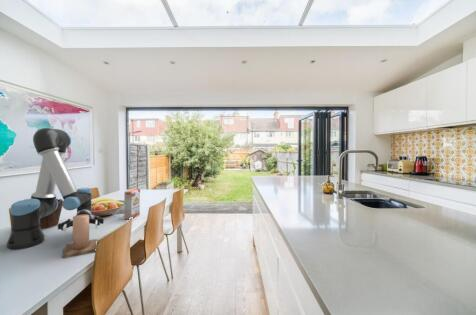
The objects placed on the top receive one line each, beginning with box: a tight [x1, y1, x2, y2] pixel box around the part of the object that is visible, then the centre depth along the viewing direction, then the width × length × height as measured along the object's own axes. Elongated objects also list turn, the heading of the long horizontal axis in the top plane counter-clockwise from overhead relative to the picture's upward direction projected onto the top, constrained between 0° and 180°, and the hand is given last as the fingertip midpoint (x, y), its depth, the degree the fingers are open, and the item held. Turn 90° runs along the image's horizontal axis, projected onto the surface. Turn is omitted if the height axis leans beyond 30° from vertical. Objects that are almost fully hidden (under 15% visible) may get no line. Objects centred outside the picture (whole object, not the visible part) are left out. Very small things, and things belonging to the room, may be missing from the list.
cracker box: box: [123, 188, 141, 220], centre depth 172 cm, size 14×6×21 cm, turn 179°
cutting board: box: [62, 238, 98, 259], centre depth 117 cm, size 14×14×2 cm
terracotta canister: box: [72, 214, 90, 249], centre depth 117 cm, size 7×7×16 cm
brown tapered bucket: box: [40, 198, 64, 230], centre depth 150 cm, size 18×20×18 cm
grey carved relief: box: [113, 206, 124, 215], centre depth 186 cm, size 16×25×7 cm, turn 116°
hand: (80, 228), depth 114 cm, fingers open, 13 cm apart
